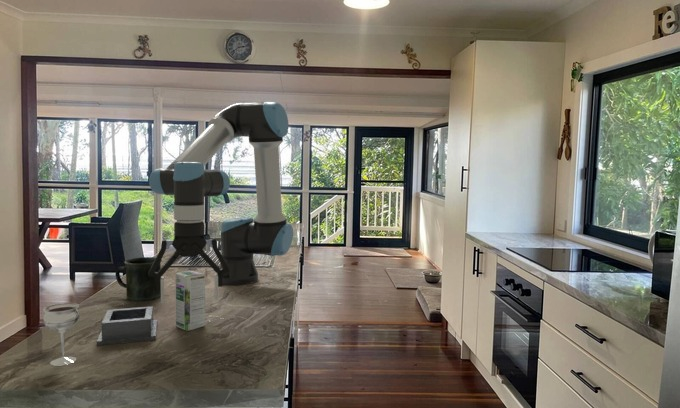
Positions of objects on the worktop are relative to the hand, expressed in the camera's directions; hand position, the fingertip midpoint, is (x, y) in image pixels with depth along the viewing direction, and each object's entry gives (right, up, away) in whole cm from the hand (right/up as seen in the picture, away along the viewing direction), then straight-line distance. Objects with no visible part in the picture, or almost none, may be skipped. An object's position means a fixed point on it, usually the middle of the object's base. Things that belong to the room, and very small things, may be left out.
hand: (189, 300), depth 126 cm
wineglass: (-21, -9, -22) cm, 32 cm away
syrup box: (0, -7, +1) cm, 7 cm away
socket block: (-14, -7, -5) cm, 16 cm away
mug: (-25, -5, +28) cm, 38 cm away
